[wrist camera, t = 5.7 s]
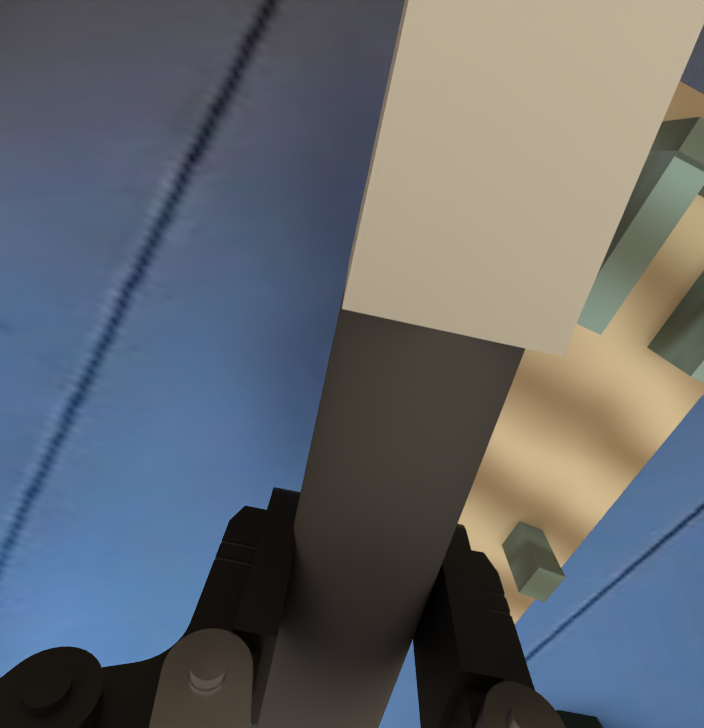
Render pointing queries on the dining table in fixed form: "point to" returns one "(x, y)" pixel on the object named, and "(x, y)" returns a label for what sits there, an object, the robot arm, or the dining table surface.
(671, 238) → the board
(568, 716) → the wine bottle
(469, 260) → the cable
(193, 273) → the dining table surface
